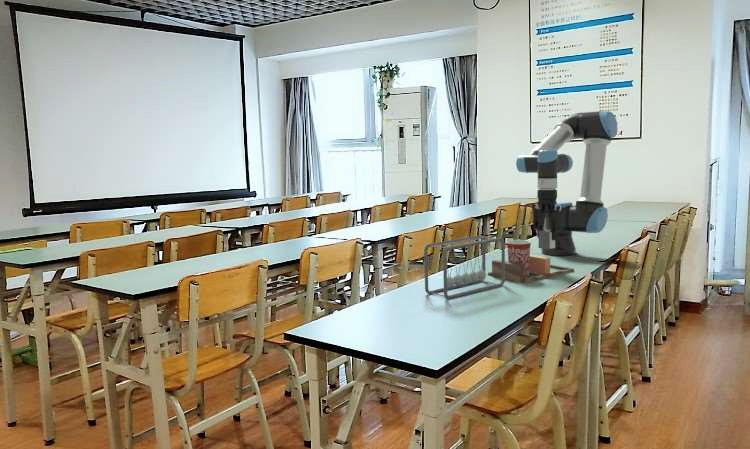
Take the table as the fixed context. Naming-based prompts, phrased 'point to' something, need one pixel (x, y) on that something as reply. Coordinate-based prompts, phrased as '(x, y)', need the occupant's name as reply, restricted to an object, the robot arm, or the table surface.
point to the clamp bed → (521, 271)
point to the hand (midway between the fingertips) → (546, 247)
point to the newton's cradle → (464, 278)
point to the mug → (519, 253)
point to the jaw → (539, 264)
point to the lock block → (544, 239)
